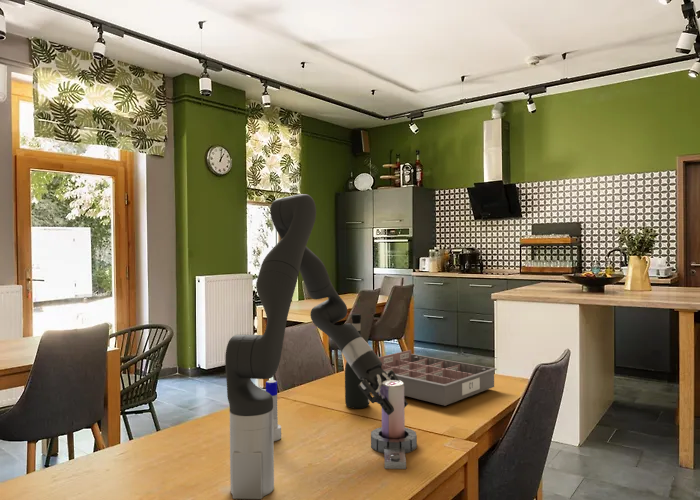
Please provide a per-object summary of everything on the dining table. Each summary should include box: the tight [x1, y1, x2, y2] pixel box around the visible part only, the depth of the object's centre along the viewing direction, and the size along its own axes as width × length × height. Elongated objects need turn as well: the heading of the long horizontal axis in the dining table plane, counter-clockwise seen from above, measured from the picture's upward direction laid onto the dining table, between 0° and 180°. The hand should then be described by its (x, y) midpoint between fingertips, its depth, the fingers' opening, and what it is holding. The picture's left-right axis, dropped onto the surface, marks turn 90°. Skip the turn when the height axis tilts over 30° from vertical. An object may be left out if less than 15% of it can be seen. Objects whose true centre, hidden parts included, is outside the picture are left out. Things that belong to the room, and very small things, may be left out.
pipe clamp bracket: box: [370, 426, 418, 470], centre depth 137 cm, size 29×12×3 cm, turn 177°
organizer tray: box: [377, 349, 497, 406], centre depth 191 cm, size 32×40×10 cm
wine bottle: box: [344, 313, 371, 409], centre depth 171 cm, size 8×8×30 cm
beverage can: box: [381, 380, 406, 439], centre depth 137 cm, size 6×6×15 cm
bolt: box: [265, 379, 282, 442], centre depth 142 cm, size 16×5×5 cm
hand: (398, 409), depth 136 cm, fingers closed on beverage can, 6 cm apart
